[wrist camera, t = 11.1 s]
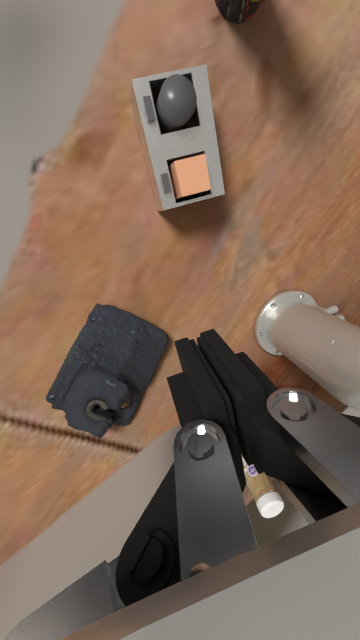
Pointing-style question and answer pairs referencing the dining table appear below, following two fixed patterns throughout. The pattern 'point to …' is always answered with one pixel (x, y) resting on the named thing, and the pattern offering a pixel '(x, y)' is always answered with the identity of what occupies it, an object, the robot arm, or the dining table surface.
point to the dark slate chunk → (107, 370)
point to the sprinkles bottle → (263, 492)
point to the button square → (189, 176)
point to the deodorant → (237, 9)
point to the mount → (176, 136)
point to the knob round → (175, 103)
